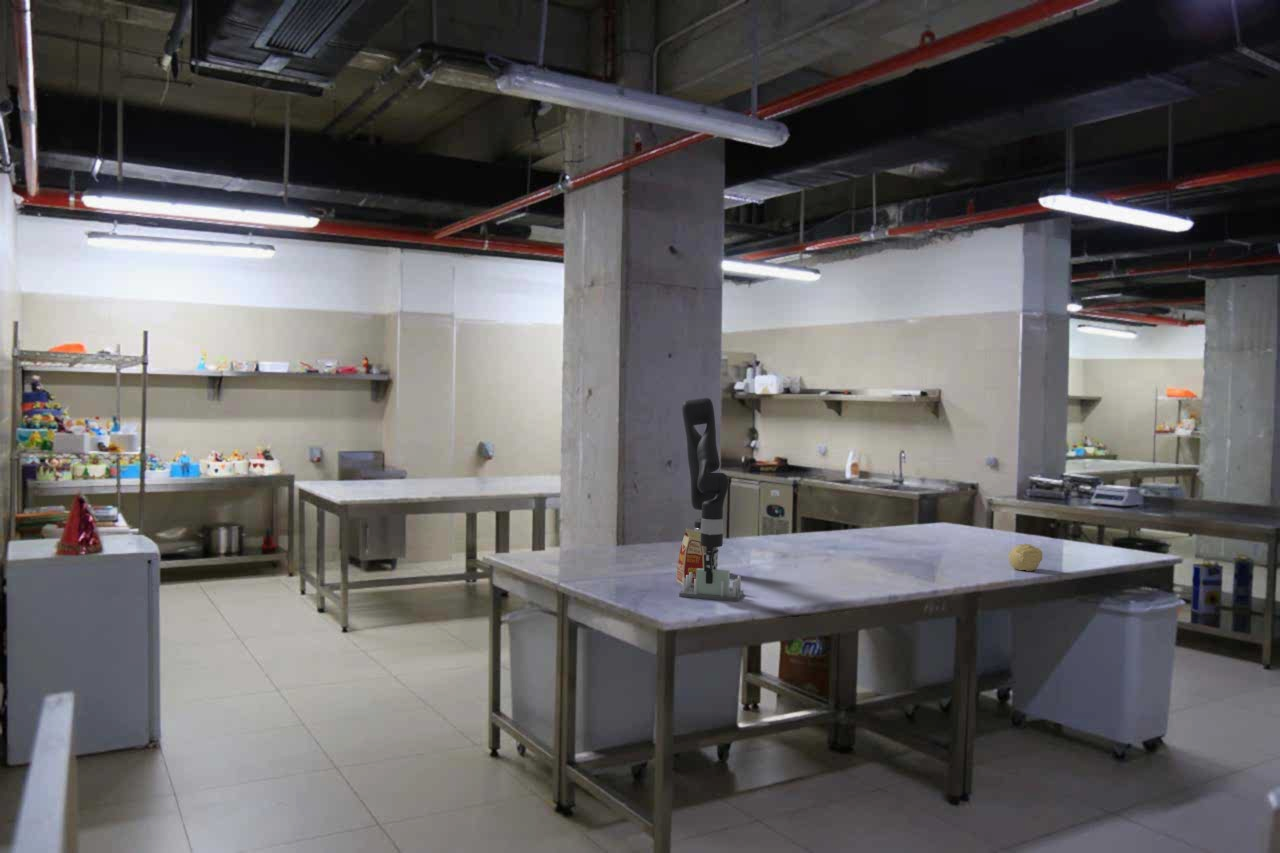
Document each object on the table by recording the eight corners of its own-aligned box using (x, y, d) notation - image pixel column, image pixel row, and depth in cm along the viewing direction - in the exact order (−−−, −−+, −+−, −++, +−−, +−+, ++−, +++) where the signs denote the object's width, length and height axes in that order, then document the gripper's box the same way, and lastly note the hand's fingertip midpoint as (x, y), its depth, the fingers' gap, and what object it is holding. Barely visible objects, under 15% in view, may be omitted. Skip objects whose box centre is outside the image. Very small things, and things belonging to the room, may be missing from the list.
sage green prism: (697, 591, 306) (697, 568, 306) (729, 594, 303) (729, 570, 303) (695, 593, 303) (695, 569, 303) (727, 595, 300) (728, 571, 300)
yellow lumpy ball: (1023, 573, 362) (1024, 546, 362) (1002, 567, 374) (1003, 542, 373) (1046, 572, 366) (1047, 545, 366) (1025, 566, 377) (1026, 541, 377)
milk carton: (683, 585, 321) (684, 530, 321) (675, 580, 330) (676, 526, 330) (707, 584, 324) (708, 529, 324) (698, 579, 333) (699, 526, 332)
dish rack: (686, 589, 314) (686, 572, 314) (743, 594, 309) (743, 576, 309) (679, 596, 303) (679, 578, 303) (738, 601, 298) (738, 582, 297)
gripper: (704, 528, 311) (703, 577, 311) (696, 533, 297) (695, 585, 297) (726, 529, 309) (725, 579, 309) (719, 535, 295) (717, 587, 295)
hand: (710, 581), depth 303 cm, fingers open, 4 cm apart
